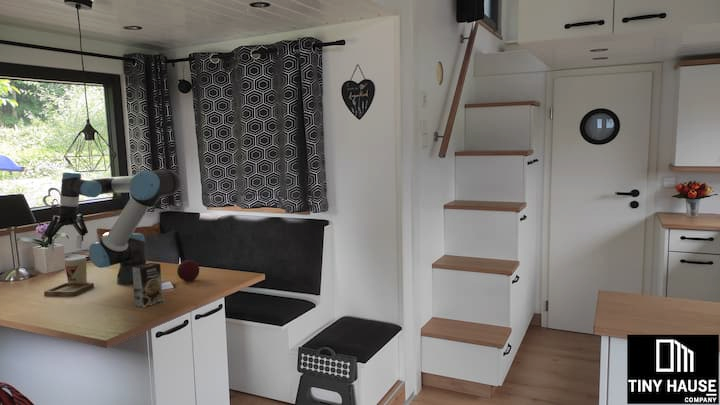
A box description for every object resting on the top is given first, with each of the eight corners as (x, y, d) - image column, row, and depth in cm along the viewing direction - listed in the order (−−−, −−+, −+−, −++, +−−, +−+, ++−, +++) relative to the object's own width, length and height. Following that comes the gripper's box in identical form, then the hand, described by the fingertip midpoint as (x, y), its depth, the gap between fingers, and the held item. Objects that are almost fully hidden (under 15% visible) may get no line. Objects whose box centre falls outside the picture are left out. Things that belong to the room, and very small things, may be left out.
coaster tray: (93, 287, 246) (93, 283, 246) (73, 296, 232) (73, 291, 232) (65, 287, 248) (65, 282, 248) (44, 295, 234) (44, 291, 234)
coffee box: (144, 308, 214) (141, 268, 212) (134, 305, 217) (131, 266, 215) (163, 301, 221) (160, 263, 219) (153, 299, 225) (150, 262, 223)
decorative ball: (198, 282, 249) (197, 262, 248) (176, 284, 248) (174, 263, 247) (201, 277, 259) (200, 257, 258) (179, 278, 258) (178, 258, 257)
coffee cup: (61, 284, 252) (59, 259, 251) (78, 279, 261) (76, 255, 259) (76, 286, 248) (73, 261, 247) (93, 281, 257) (90, 256, 256)
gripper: (88, 202, 260) (84, 245, 262) (37, 204, 238) (33, 250, 240) (98, 205, 257) (94, 248, 259) (47, 207, 235) (43, 254, 237)
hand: (65, 249), depth 249 cm, fingers open, 13 cm apart
